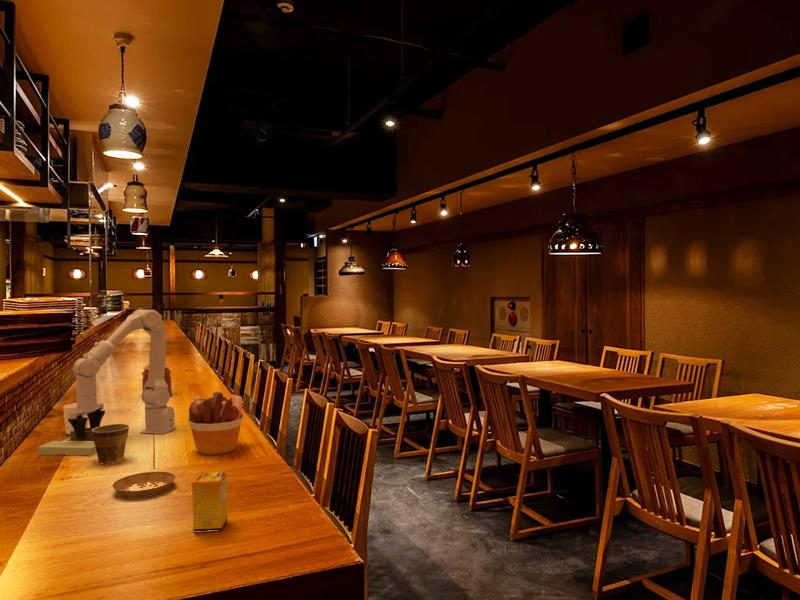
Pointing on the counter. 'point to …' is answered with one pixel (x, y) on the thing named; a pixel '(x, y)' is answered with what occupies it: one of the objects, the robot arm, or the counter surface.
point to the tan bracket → (68, 448)
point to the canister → (166, 377)
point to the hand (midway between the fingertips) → (87, 435)
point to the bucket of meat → (215, 423)
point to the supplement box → (209, 501)
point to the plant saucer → (141, 480)
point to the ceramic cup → (110, 442)
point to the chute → (86, 438)
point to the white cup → (67, 410)
